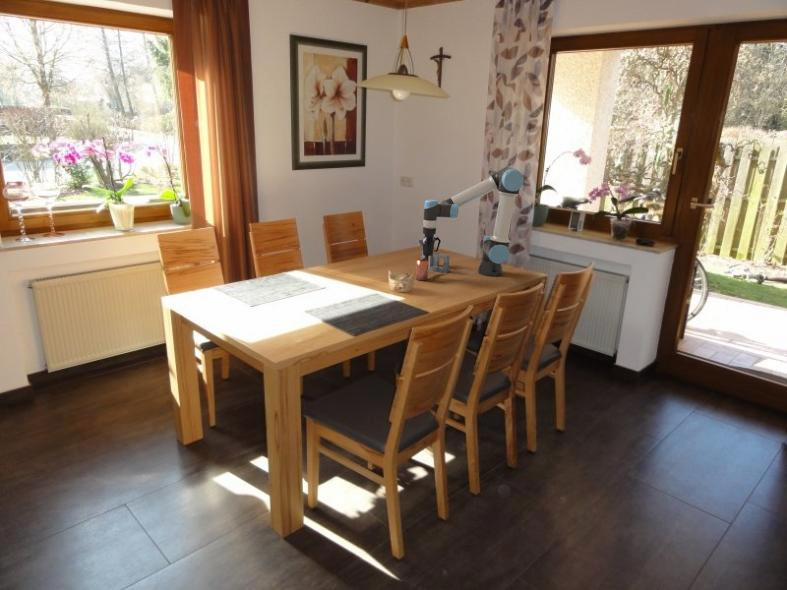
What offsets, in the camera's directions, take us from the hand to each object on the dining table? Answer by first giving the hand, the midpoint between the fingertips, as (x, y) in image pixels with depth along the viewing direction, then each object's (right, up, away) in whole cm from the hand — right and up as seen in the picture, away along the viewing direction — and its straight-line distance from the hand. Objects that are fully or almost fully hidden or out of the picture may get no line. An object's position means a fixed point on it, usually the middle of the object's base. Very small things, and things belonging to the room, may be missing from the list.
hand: (427, 266), depth 325 cm
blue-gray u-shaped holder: (+9, -2, +16) cm, 19 cm away
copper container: (0, -5, +3) cm, 6 cm away
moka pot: (+2, +2, +29) cm, 29 cm away
